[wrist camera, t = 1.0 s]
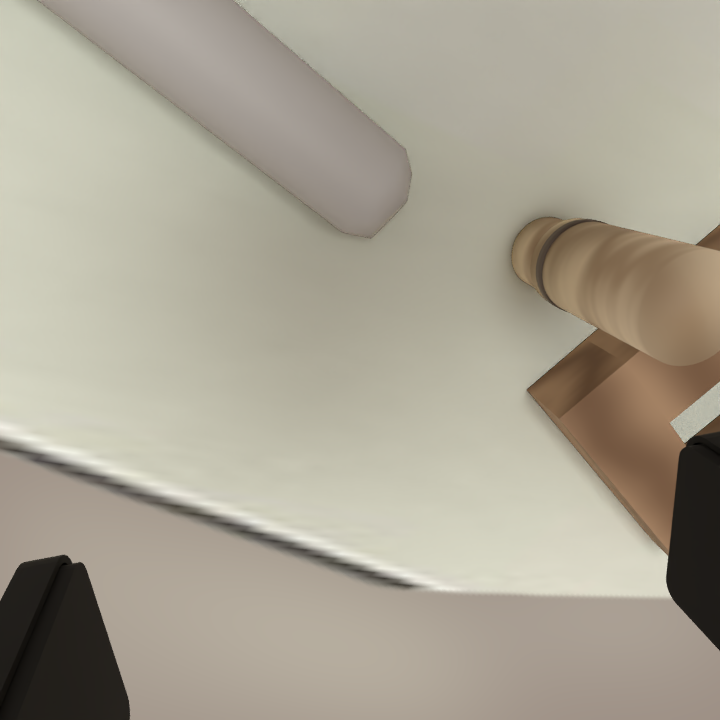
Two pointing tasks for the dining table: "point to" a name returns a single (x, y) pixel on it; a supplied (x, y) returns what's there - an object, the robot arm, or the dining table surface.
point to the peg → (627, 284)
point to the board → (628, 417)
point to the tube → (255, 101)
